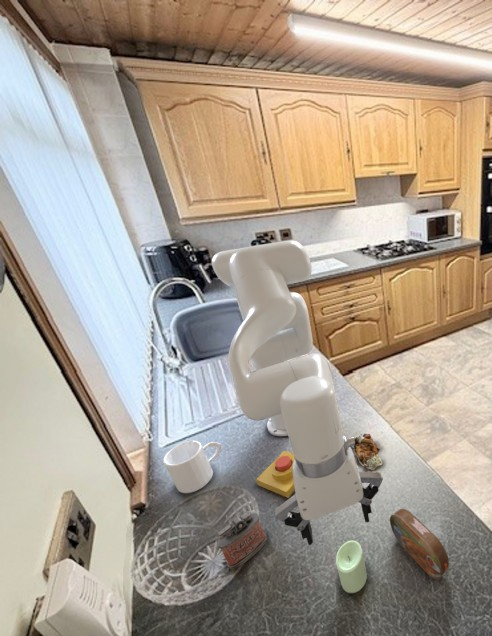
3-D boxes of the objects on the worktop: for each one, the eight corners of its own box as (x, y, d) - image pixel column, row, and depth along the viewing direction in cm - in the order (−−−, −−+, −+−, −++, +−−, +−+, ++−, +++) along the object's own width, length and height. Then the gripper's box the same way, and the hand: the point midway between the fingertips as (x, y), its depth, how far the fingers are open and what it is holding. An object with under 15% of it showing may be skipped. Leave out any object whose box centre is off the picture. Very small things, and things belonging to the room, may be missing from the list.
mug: (232, 472, 92) (221, 444, 88) (180, 499, 85) (165, 471, 81) (225, 454, 98) (214, 428, 94) (175, 479, 91) (161, 451, 87)
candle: (356, 598, 65) (350, 573, 61) (335, 585, 67) (328, 560, 63) (372, 572, 69) (367, 546, 65) (351, 560, 71) (346, 535, 67)
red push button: (283, 458, 91) (282, 454, 90) (294, 462, 90) (293, 457, 89) (273, 469, 88) (272, 464, 87) (284, 473, 87) (283, 468, 86)
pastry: (367, 474, 90) (366, 464, 88) (346, 447, 98) (344, 438, 97) (390, 460, 94) (389, 450, 92) (367, 435, 102) (366, 426, 101)
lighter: (262, 531, 77) (250, 501, 73) (270, 541, 75) (258, 510, 71) (225, 562, 72) (210, 531, 67) (232, 573, 70) (217, 542, 65)
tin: (390, 534, 75) (386, 508, 72) (401, 524, 77) (398, 498, 74) (440, 589, 66) (439, 562, 62) (451, 575, 68) (451, 549, 64)
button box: (286, 456, 96) (283, 445, 95) (315, 466, 93) (312, 455, 91) (257, 485, 88) (253, 474, 86) (288, 498, 84) (284, 487, 83)
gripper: (370, 421, 59) (381, 490, 66) (261, 454, 54) (285, 526, 61) (382, 452, 53) (392, 525, 60) (259, 493, 47) (287, 568, 55)
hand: (338, 525), depth 60 cm, fingers open, 9 cm apart
